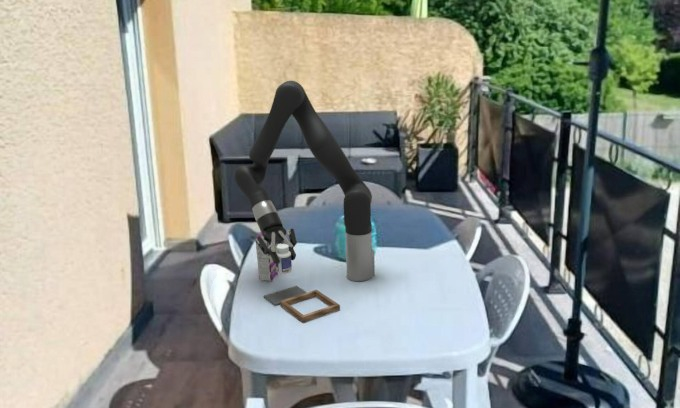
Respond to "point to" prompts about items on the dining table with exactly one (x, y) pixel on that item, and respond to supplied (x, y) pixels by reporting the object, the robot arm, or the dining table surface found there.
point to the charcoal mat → (283, 295)
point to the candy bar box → (265, 263)
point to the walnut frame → (303, 318)
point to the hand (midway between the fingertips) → (286, 261)
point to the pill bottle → (283, 259)
